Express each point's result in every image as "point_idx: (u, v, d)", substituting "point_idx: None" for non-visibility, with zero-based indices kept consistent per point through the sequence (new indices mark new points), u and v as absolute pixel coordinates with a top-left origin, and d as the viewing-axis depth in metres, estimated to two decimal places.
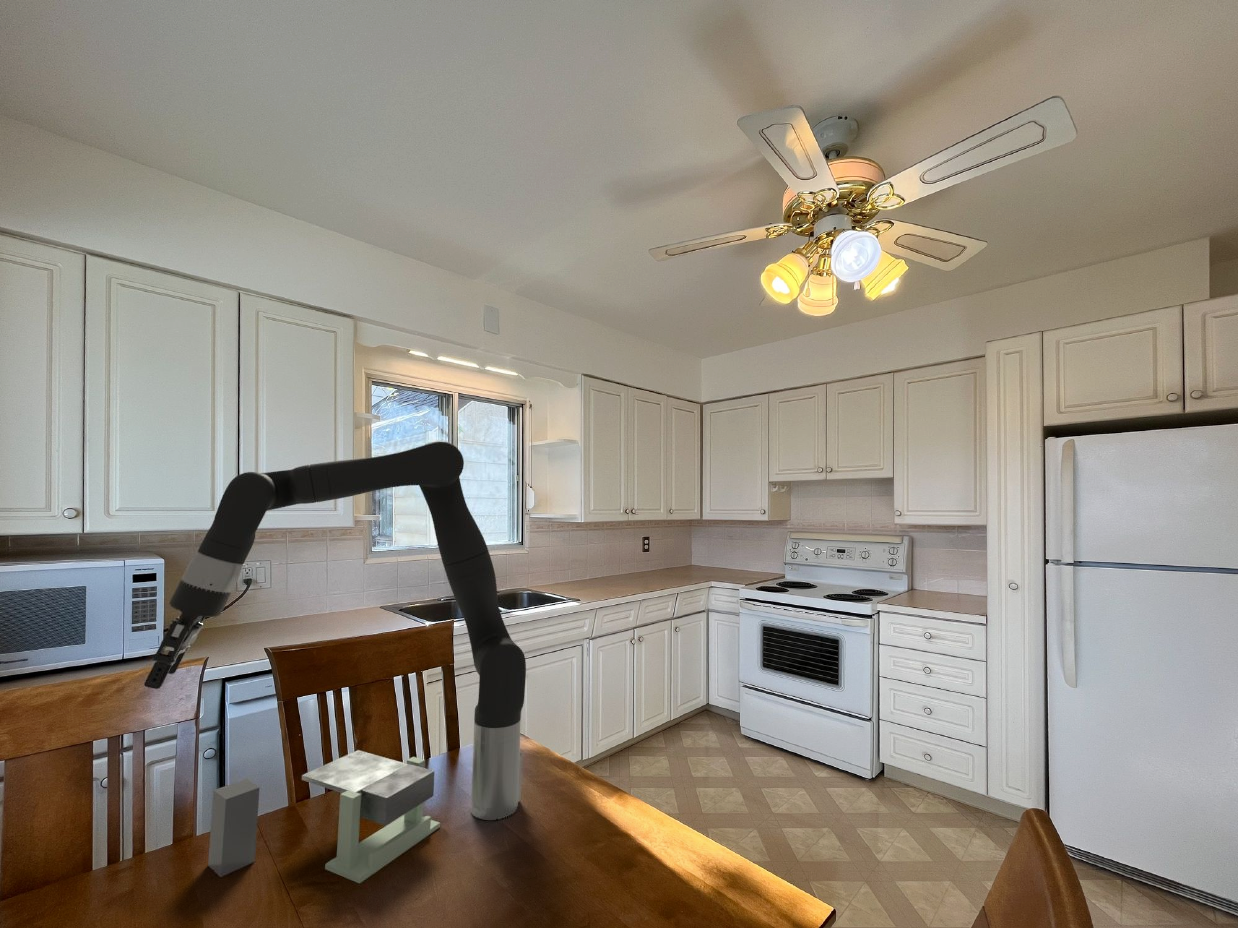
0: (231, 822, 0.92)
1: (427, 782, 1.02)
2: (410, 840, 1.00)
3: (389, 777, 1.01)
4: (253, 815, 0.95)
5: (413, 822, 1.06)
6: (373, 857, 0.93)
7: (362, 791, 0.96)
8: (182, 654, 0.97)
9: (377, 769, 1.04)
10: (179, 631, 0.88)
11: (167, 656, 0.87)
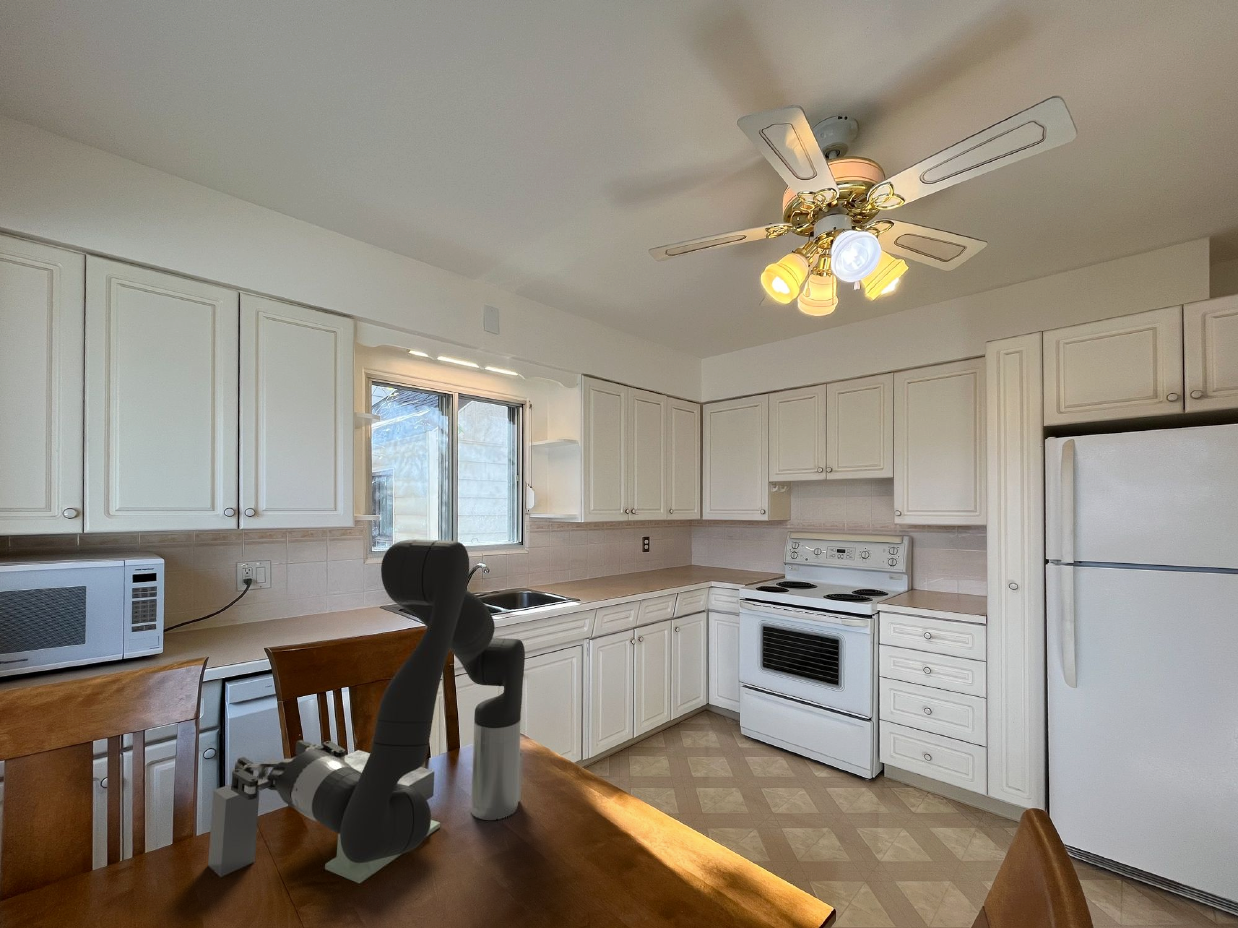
0: (232, 822, 0.93)
1: (427, 782, 1.02)
2: None
3: None
4: (253, 815, 0.95)
5: None
6: None
7: None
8: None
9: None
10: None
11: None
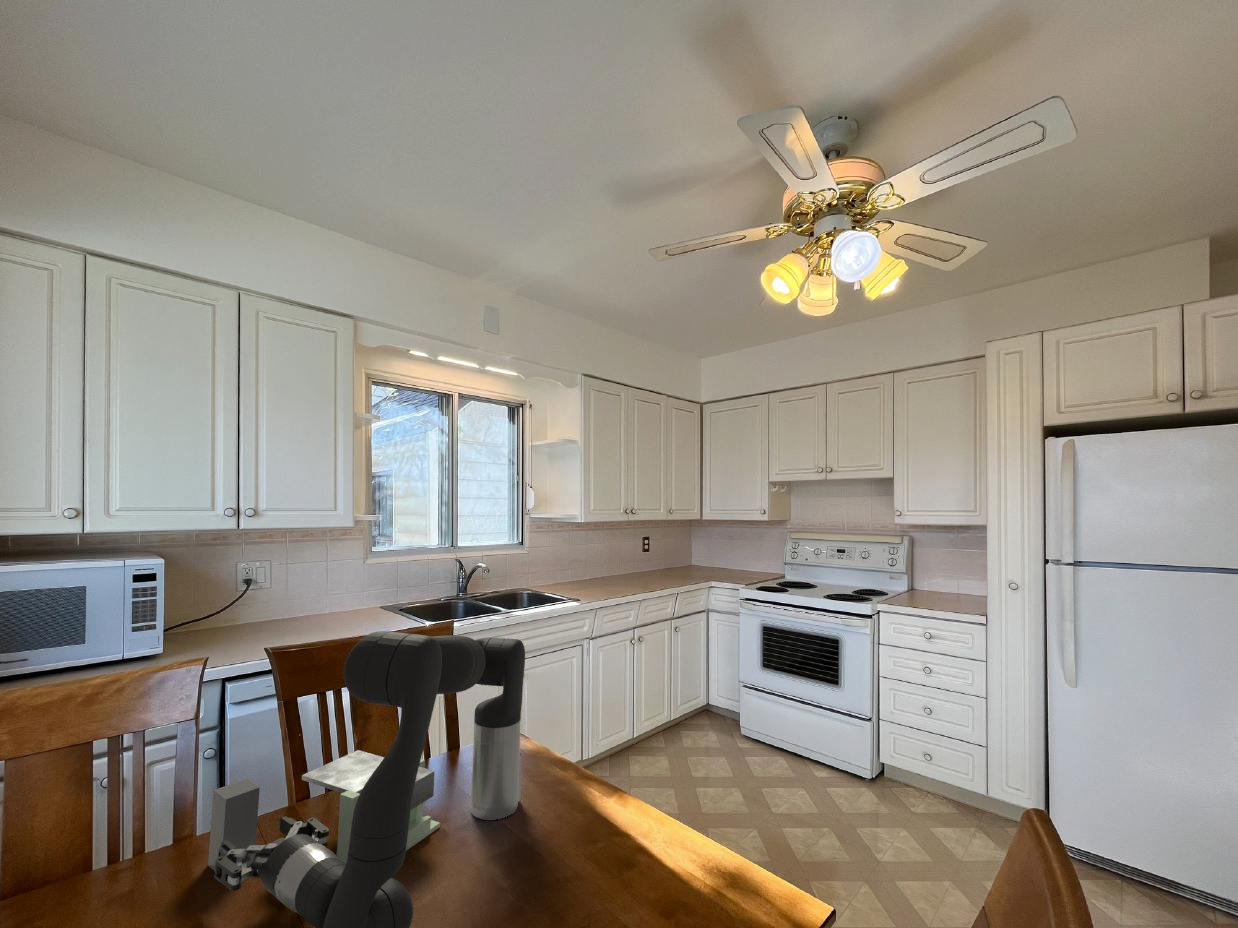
0: (231, 822, 0.93)
1: (427, 782, 1.02)
2: (410, 840, 1.00)
3: None
4: (253, 815, 0.95)
5: (413, 822, 1.06)
6: None
7: None
8: (235, 847, 0.86)
9: None
10: None
11: None
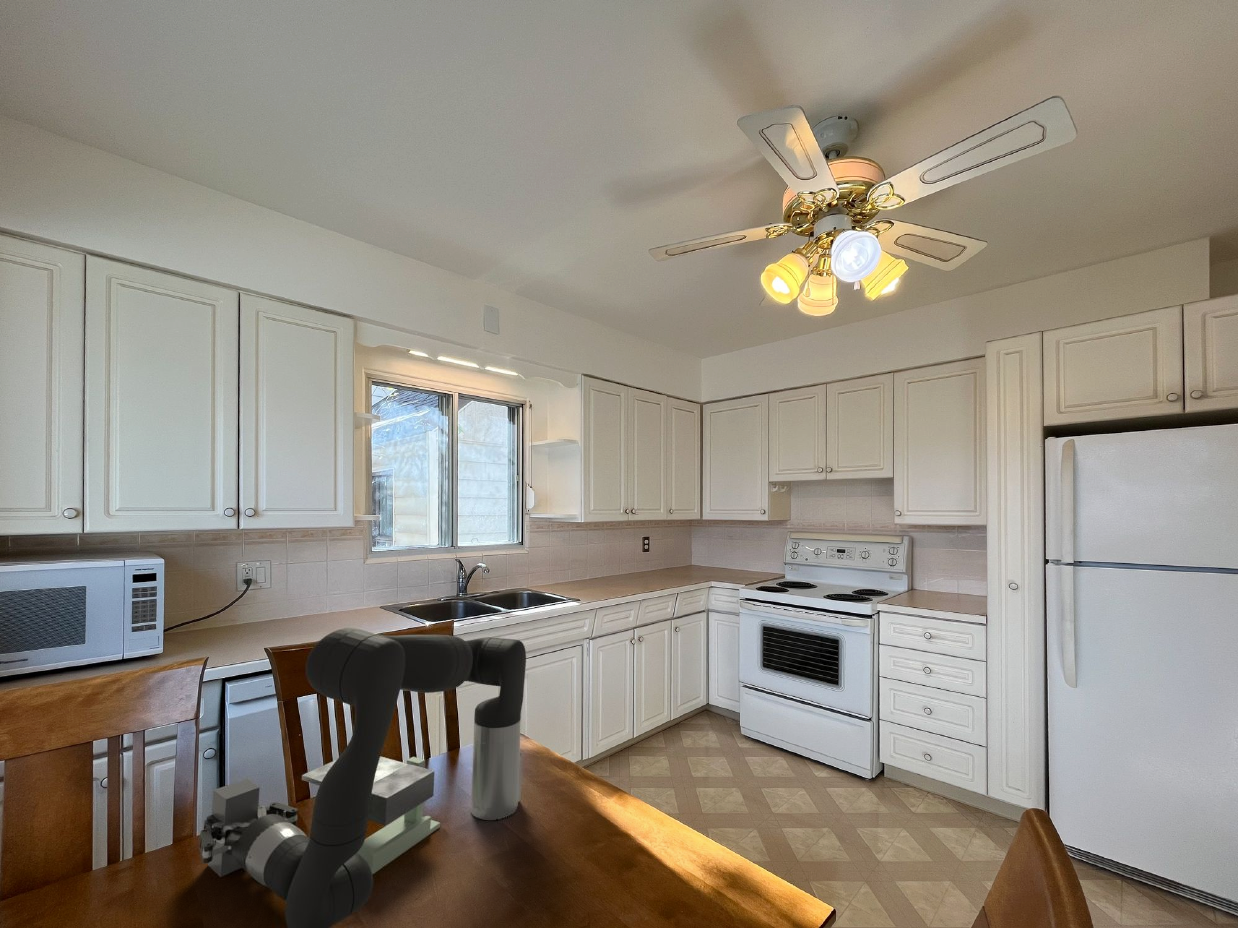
0: None
1: (427, 782, 1.02)
2: (410, 840, 1.00)
3: (389, 777, 1.01)
4: (253, 815, 0.95)
5: (413, 822, 1.06)
6: (373, 857, 0.93)
7: None
8: (219, 821, 0.93)
9: (377, 769, 1.04)
10: None
11: None
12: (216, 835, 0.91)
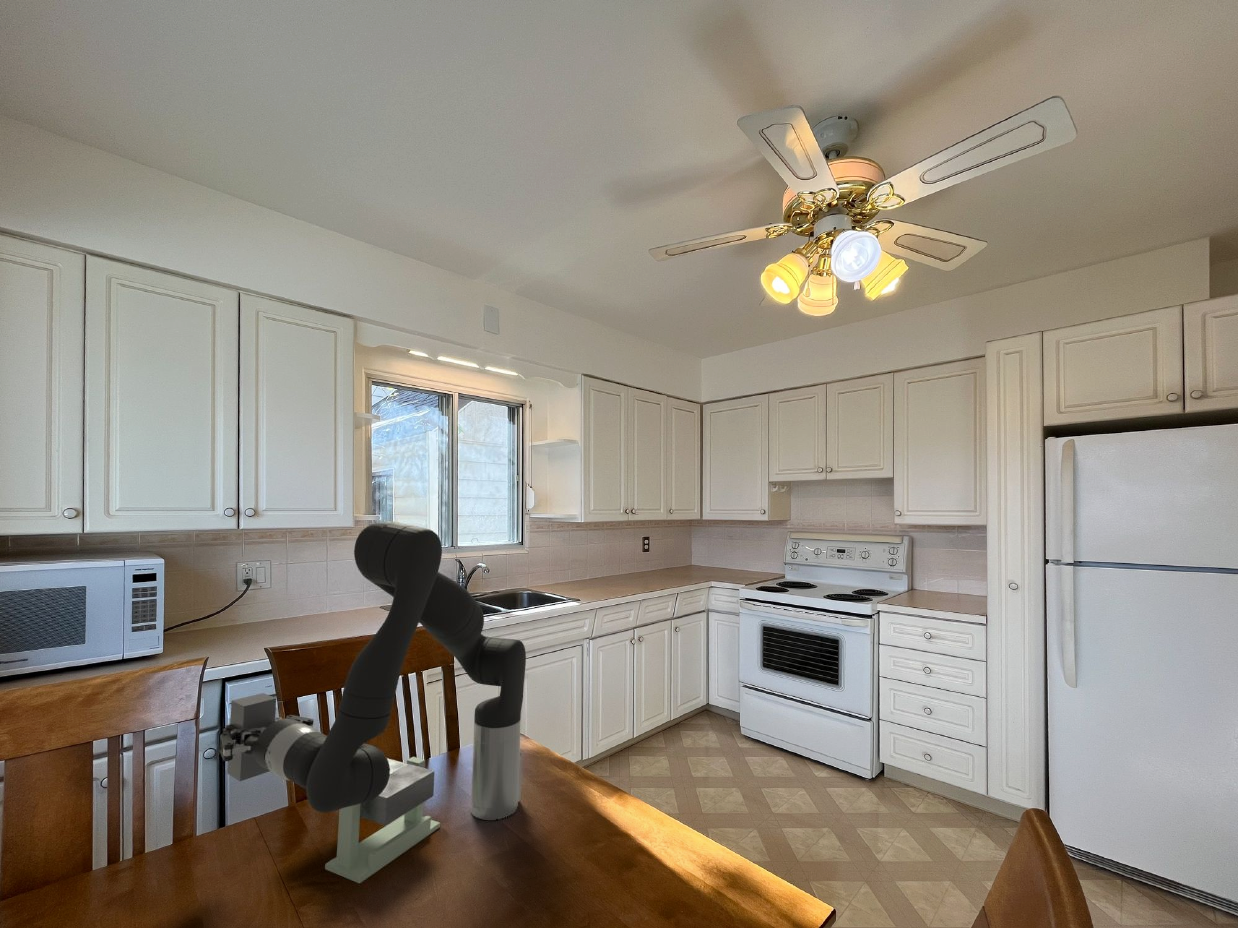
0: None
1: (427, 782, 1.02)
2: (410, 840, 1.00)
3: (389, 777, 1.01)
4: None
5: (413, 822, 1.06)
6: (373, 857, 0.93)
7: None
8: (238, 728, 0.95)
9: None
10: None
11: None
12: (235, 740, 0.93)
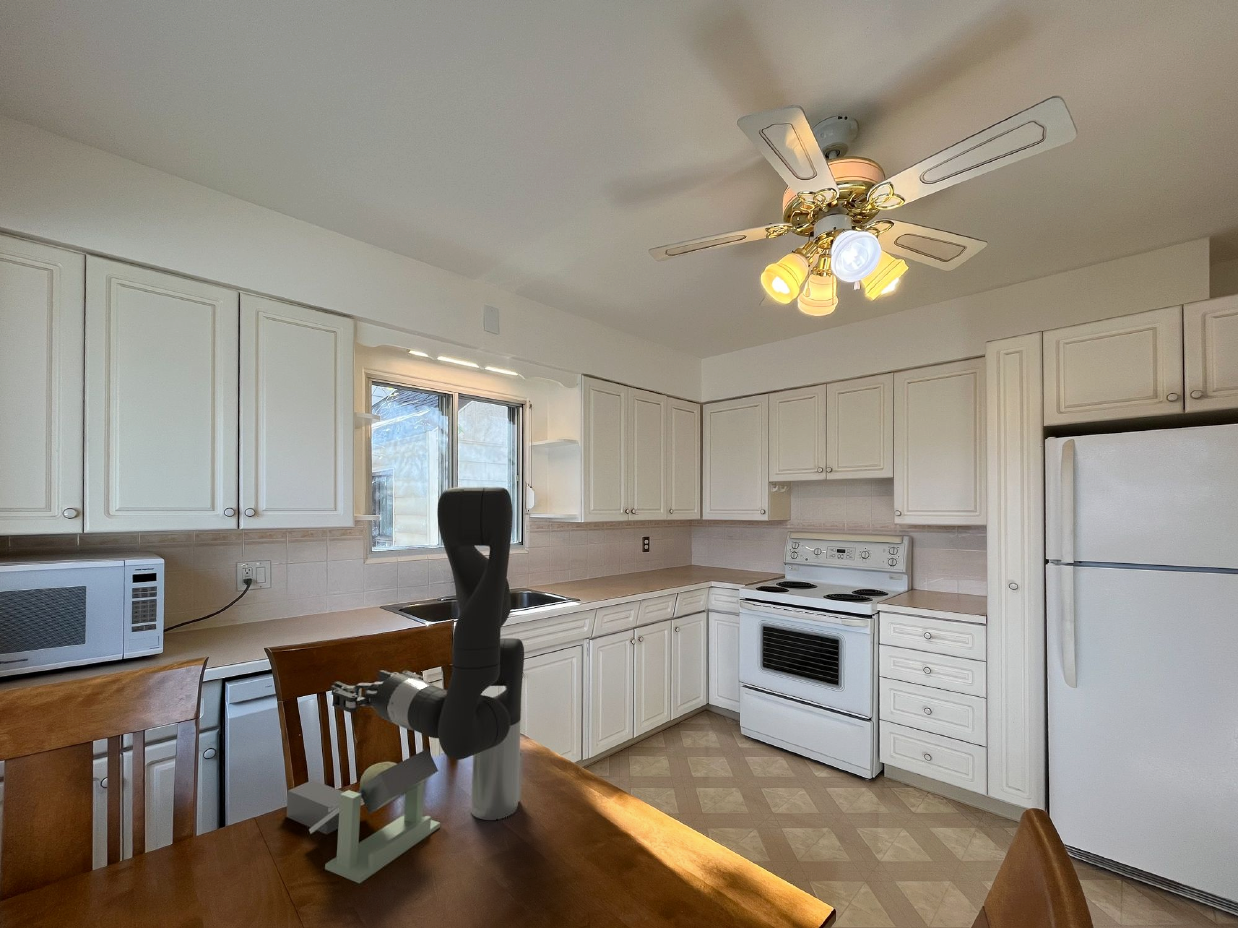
0: (306, 793, 1.08)
1: (424, 758, 1.03)
2: (410, 840, 1.00)
3: None
4: (323, 786, 1.11)
5: (413, 822, 1.06)
6: (373, 857, 0.93)
7: (360, 789, 0.96)
8: (346, 685, 0.99)
9: None
10: None
11: None
12: None
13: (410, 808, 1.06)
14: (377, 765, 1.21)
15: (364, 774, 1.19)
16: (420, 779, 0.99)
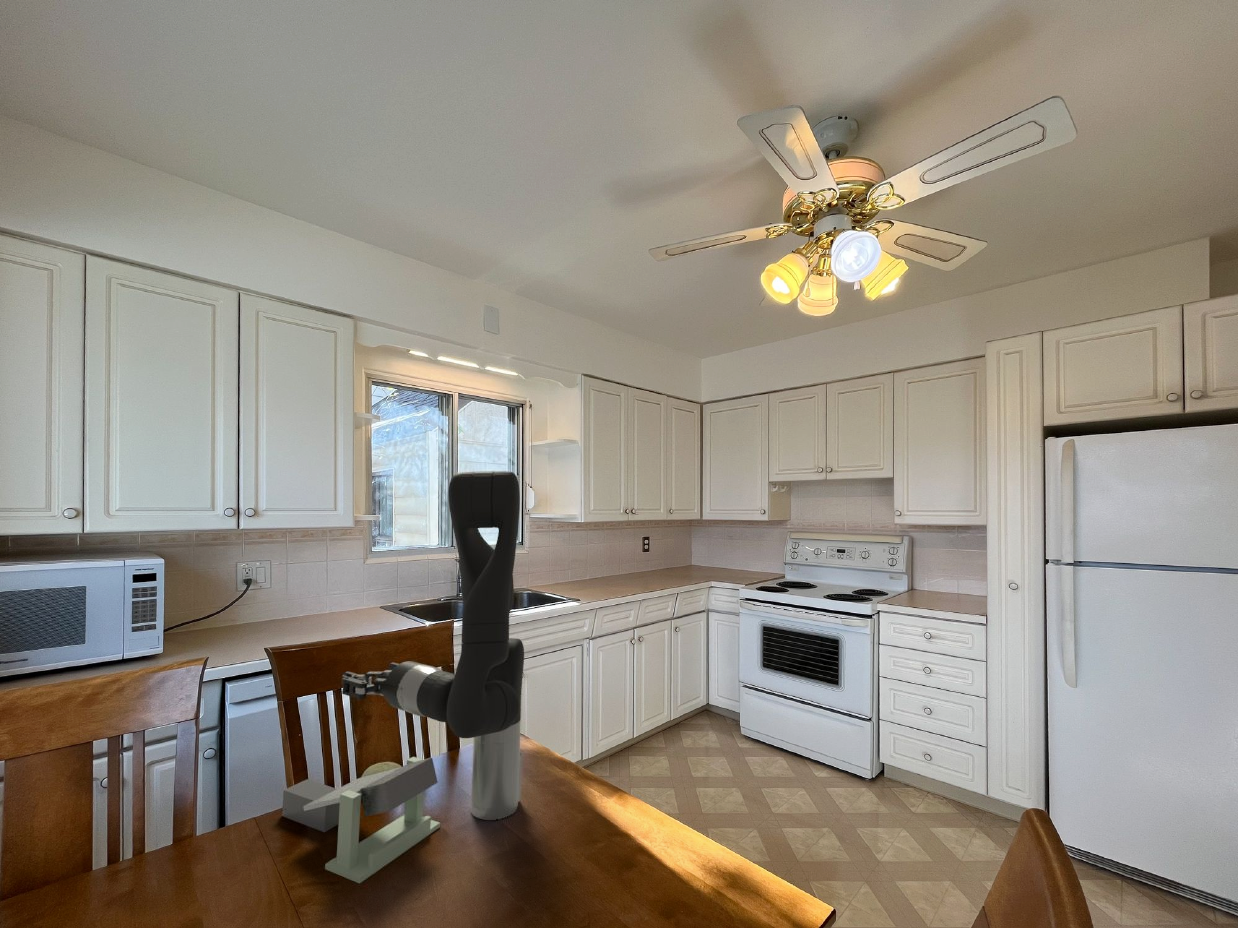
0: (303, 792, 1.09)
1: (427, 768, 1.02)
2: (410, 840, 1.00)
3: (388, 775, 1.01)
4: (319, 785, 1.12)
5: (413, 822, 1.06)
6: (373, 857, 0.93)
7: (361, 789, 0.96)
8: (356, 675, 0.98)
9: (377, 777, 1.04)
10: None
11: None
12: None
13: (410, 808, 1.06)
14: (377, 765, 1.21)
15: (364, 774, 1.19)
16: (420, 791, 0.99)
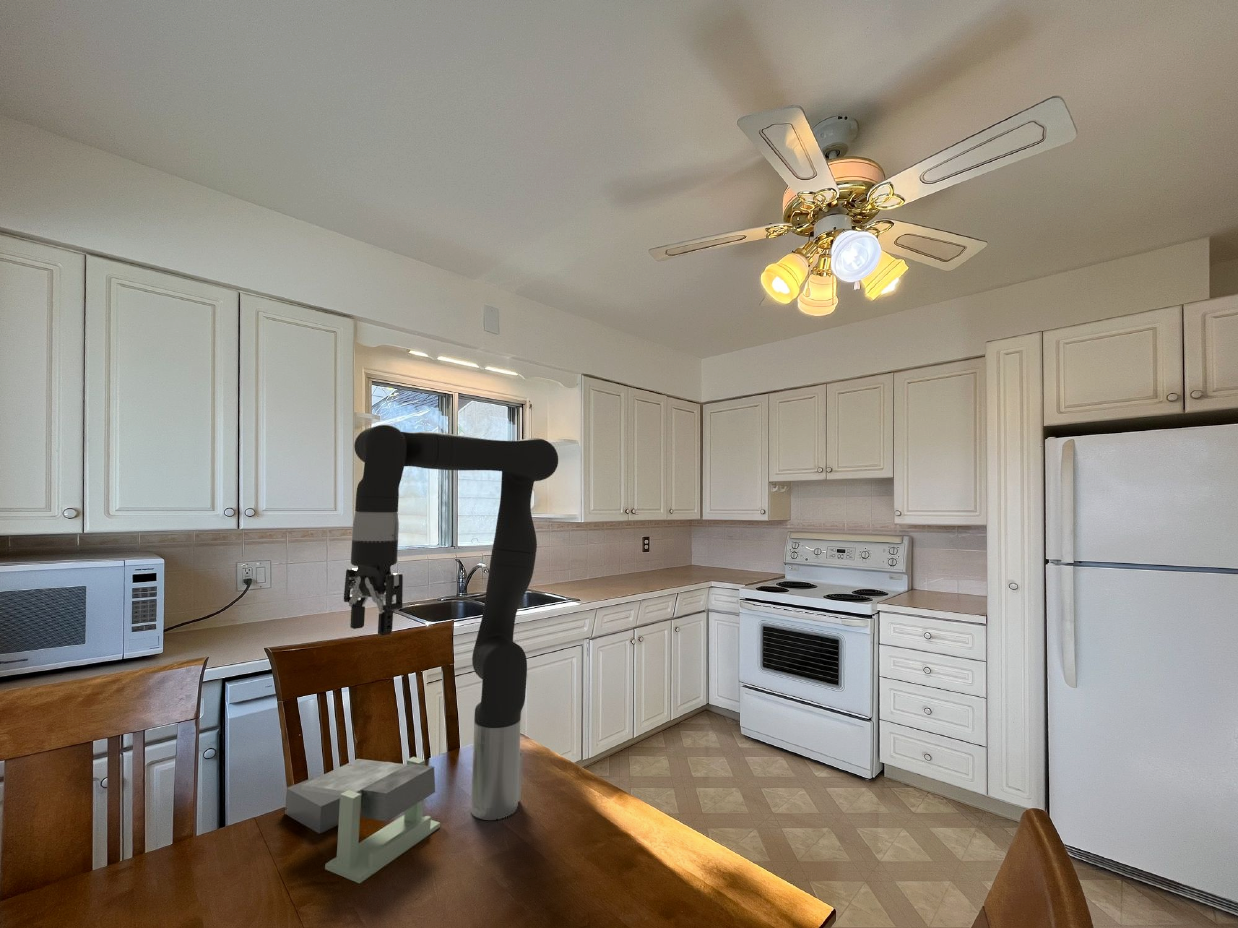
0: (303, 791, 1.09)
1: (427, 777, 1.02)
2: (410, 840, 1.00)
3: (389, 776, 1.01)
4: None
5: (413, 822, 1.06)
6: (373, 857, 0.93)
7: (362, 790, 0.96)
8: (364, 608, 1.02)
9: (377, 772, 1.04)
10: (397, 579, 0.96)
11: (397, 603, 0.96)
12: None
13: (410, 808, 1.06)
14: None
15: None
16: (417, 801, 0.99)
